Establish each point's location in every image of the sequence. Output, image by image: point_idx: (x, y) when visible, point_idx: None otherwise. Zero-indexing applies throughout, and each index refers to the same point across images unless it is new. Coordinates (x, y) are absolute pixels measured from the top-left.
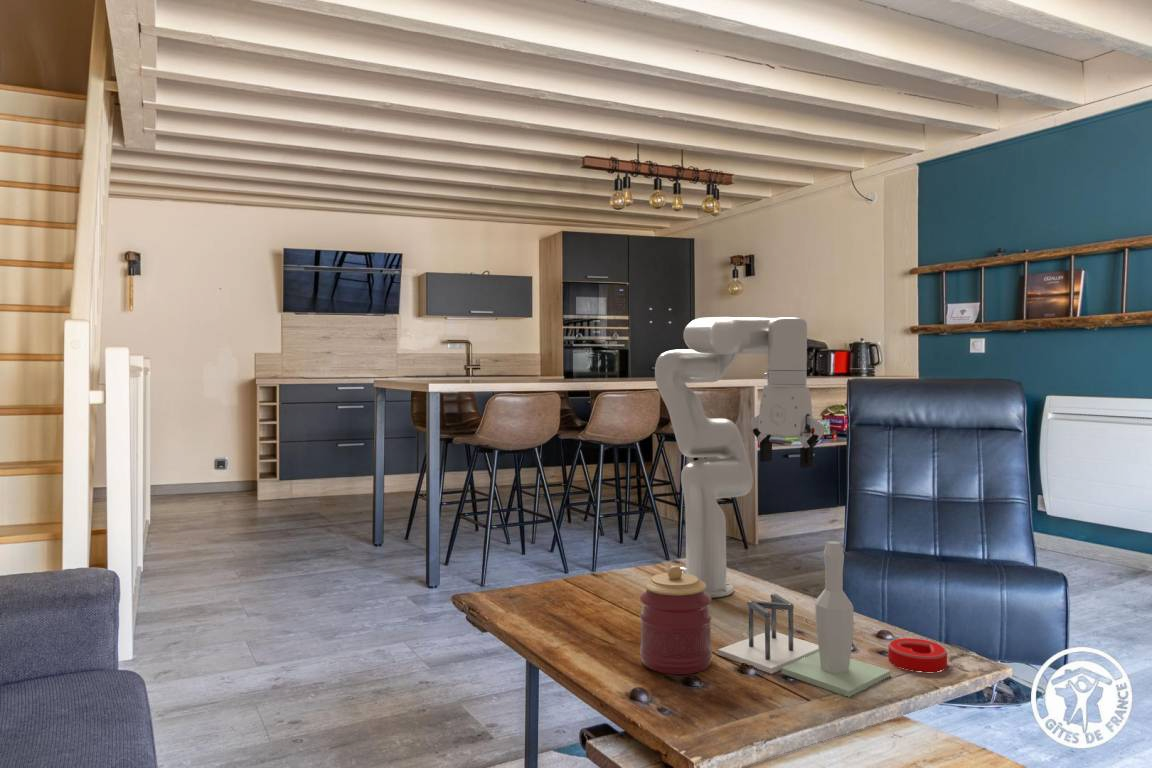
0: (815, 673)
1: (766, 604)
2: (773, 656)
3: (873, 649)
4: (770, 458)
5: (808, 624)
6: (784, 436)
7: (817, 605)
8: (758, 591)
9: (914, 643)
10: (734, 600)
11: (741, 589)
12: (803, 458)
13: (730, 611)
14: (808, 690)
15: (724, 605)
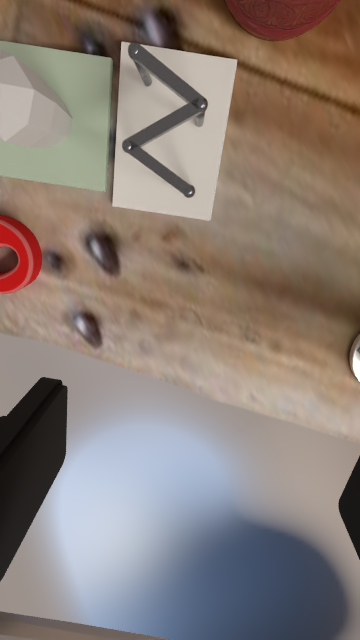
0: (60, 76)
1: (168, 115)
2: (146, 101)
3: (70, 264)
4: (347, 506)
5: (187, 303)
6: (127, 634)
7: (10, 55)
8: (316, 395)
9: (7, 273)
10: (332, 336)
11: (344, 389)
12: (10, 420)
13: (314, 284)
14: (46, 20)
15: (336, 304)
